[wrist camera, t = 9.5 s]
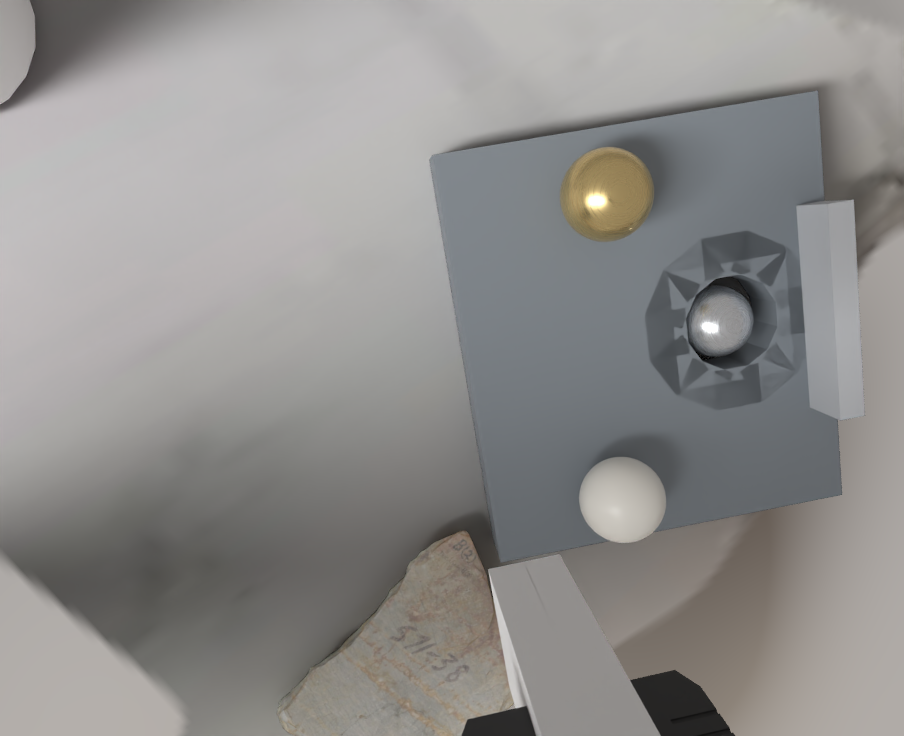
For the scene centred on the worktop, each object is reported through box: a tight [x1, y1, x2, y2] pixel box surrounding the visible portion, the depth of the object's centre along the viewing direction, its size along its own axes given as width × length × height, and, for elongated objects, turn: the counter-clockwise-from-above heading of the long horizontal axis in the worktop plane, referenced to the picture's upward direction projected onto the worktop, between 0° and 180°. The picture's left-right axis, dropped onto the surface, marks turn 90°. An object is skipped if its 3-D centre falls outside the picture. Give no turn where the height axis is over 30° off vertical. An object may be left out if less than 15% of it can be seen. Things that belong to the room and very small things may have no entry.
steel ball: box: [686, 286, 754, 357], centre depth 36 cm, size 4×4×4 cm
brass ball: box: [560, 147, 654, 242], centre depth 31 cm, size 4×4×4 cm
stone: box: [277, 530, 514, 736], centre depth 39 cm, size 15×11×3 cm
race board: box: [429, 91, 865, 562], centre depth 35 cm, size 18×20×5 cm
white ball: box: [579, 457, 666, 543], centre depth 34 cm, size 4×4×4 cm
